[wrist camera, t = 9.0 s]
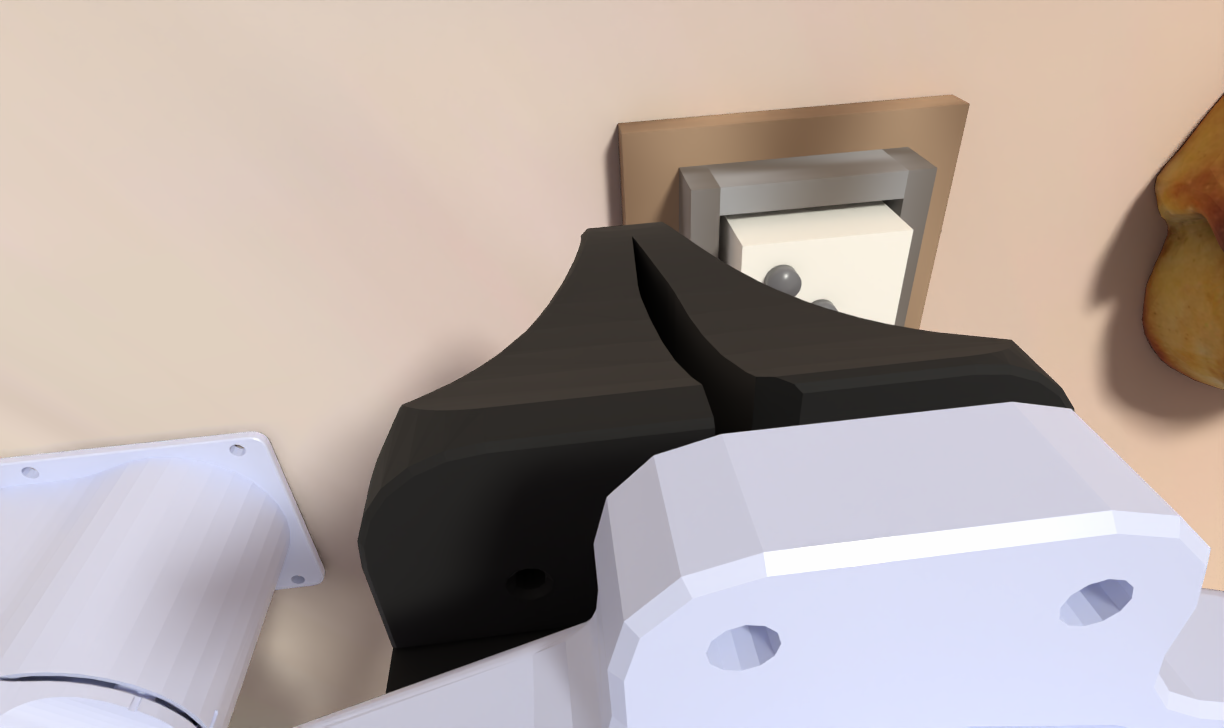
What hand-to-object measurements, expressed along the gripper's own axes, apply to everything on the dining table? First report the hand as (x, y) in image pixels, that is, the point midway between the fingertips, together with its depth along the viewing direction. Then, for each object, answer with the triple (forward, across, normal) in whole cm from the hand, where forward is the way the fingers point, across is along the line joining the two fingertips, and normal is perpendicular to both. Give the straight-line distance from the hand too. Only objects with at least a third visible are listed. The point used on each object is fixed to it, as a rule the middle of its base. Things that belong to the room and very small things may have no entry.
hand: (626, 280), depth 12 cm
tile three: (+9, -6, +5) cm, 12 cm away
